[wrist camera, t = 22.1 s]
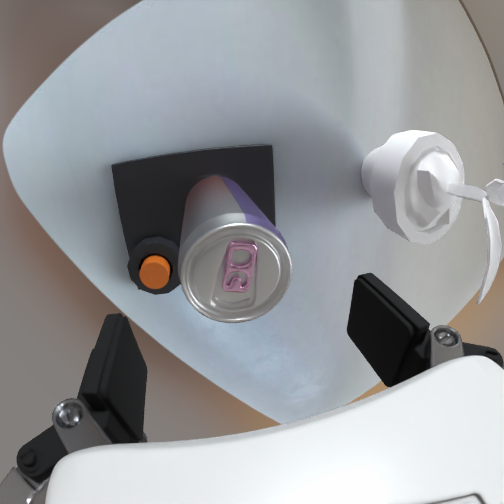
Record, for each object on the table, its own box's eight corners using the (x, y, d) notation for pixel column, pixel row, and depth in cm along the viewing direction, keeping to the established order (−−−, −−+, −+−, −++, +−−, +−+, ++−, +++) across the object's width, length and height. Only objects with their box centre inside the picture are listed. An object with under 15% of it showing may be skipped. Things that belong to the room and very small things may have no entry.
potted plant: (365, 109, 27) (575, 131, 4) (422, 159, 31) (581, 218, 8) (320, 199, 30) (511, 334, 8) (384, 237, 34) (527, 347, 12)
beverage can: (250, 179, 26) (308, 228, 13) (239, 235, 29) (281, 327, 15) (189, 171, 25) (182, 212, 12) (182, 229, 27) (174, 323, 14)
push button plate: (140, 283, 30) (135, 297, 27) (115, 163, 24) (106, 166, 22) (273, 265, 32) (280, 277, 30) (268, 143, 27) (276, 144, 24)
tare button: (145, 282, 27) (143, 290, 26) (139, 256, 26) (136, 264, 24) (172, 278, 28) (171, 287, 26) (167, 252, 27) (165, 260, 25)
